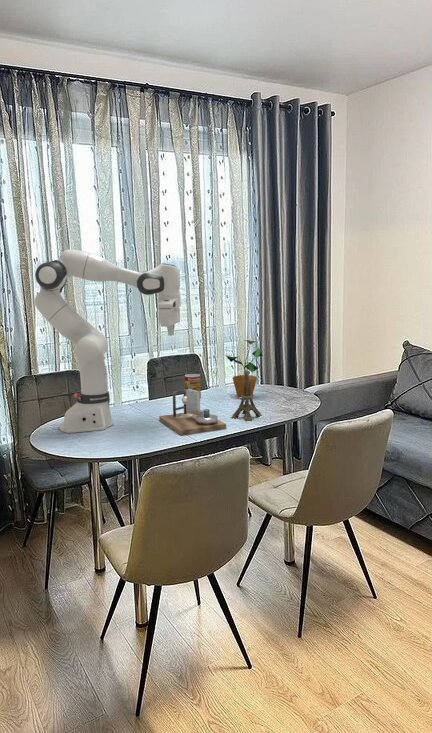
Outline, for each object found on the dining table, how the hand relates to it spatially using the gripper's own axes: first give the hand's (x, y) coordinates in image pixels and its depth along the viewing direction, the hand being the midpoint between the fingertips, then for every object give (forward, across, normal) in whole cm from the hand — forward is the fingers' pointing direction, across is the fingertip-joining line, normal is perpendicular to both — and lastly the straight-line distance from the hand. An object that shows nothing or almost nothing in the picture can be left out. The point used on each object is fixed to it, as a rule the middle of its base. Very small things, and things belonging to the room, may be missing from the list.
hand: (171, 335), depth 242 cm
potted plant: (+37, -47, +25) cm, 65 cm away
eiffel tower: (+37, -8, +31) cm, 49 cm away
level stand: (+37, +7, +10) cm, 39 cm away
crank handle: (+35, +6, +13) cm, 38 cm away
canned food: (+37, -39, 0) cm, 54 cm away
